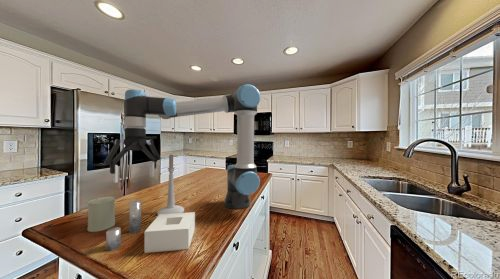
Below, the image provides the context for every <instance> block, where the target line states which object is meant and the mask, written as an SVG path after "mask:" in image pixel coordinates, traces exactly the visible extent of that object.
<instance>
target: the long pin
mask: <svg viewBox="0 0 500 279" xmlns="http://www.w3.org/2000/svg"><path fill="white" fill-rule="evenodd" d="M128 213H129V215H128V216H129V220H128V222H129V223H128V224H129V229H128V230H129V233H130V234H136V233H137V234H138V233H139V232H141V231H142V201H141V200H140V199H134V200H131V201H129V212H128Z"/></svg>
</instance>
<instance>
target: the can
mask: <svg viewBox="0 0 500 279" xmlns="http://www.w3.org/2000/svg"><path fill="white" fill-rule="evenodd" d="M115 202H116V197H115V196H102V197H97V198H93V199H90V200H89V201H87V232H91V233H97V232H101V231H107V230H109V229H111V228H113V227H115V225H116V218H115V217H116V216H115V215H116V213H115V212H116V211H115V210H116V203H115Z"/></svg>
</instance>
